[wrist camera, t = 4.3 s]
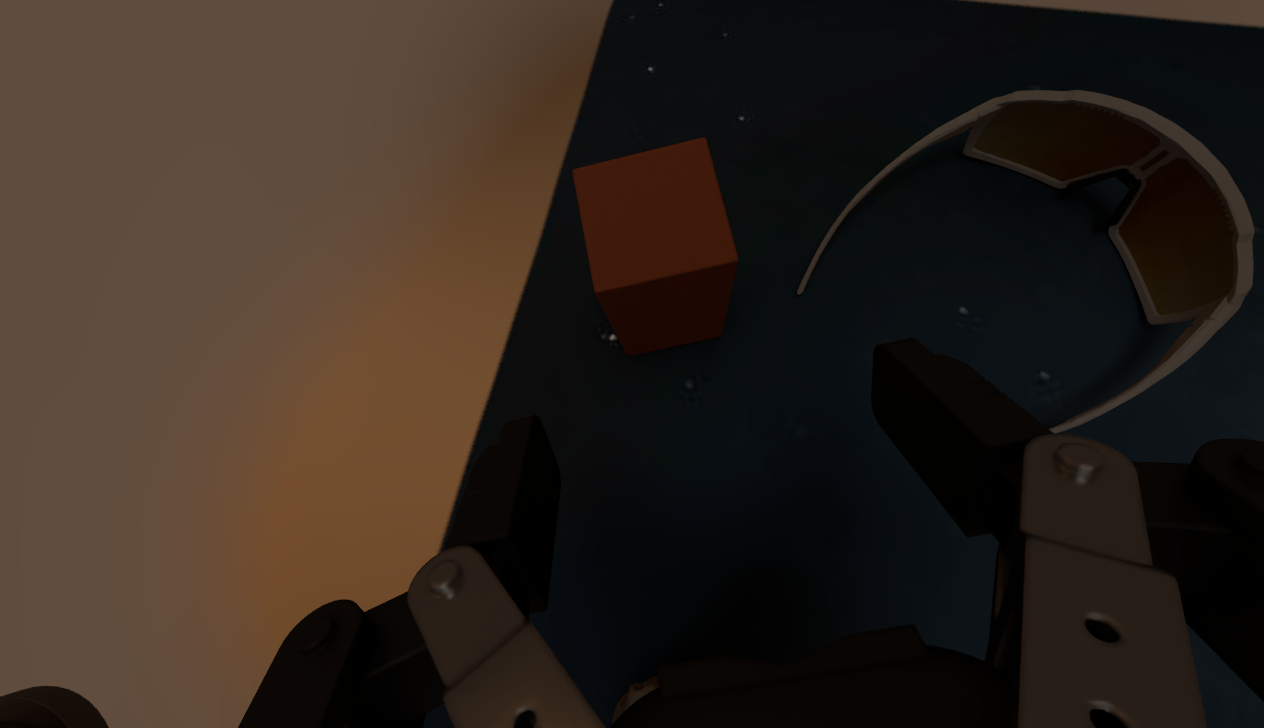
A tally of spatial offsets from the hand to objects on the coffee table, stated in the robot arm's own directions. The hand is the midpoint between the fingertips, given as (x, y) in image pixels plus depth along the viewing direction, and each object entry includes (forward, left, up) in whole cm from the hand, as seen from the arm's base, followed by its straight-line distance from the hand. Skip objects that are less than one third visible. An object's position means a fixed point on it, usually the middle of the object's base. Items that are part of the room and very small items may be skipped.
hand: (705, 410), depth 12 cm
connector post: (+4, +7, -13) cm, 15 cm away
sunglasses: (+16, -3, -13) cm, 21 cm away
